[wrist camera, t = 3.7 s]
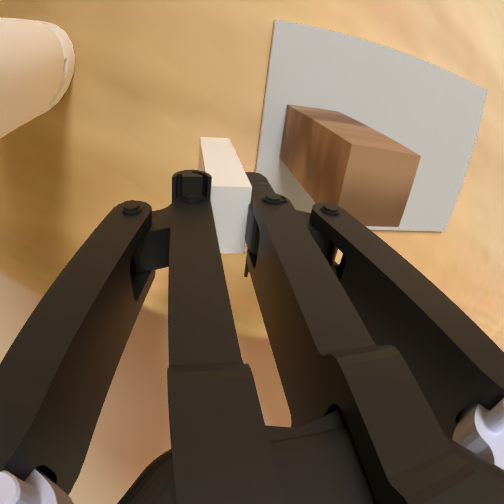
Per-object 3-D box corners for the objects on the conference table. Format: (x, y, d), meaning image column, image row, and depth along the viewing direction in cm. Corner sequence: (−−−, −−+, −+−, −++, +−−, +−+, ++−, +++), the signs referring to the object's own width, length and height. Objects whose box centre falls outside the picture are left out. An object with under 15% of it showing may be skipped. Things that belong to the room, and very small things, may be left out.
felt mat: (274, 20, 19) (275, 19, 19) (484, 89, 24) (487, 90, 24) (248, 226, 29) (249, 228, 29) (442, 230, 34) (444, 231, 34)
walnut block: (287, 104, 23) (351, 144, 14) (338, 111, 24) (420, 156, 15) (279, 157, 26) (332, 225, 17) (329, 161, 27) (398, 227, 18)
